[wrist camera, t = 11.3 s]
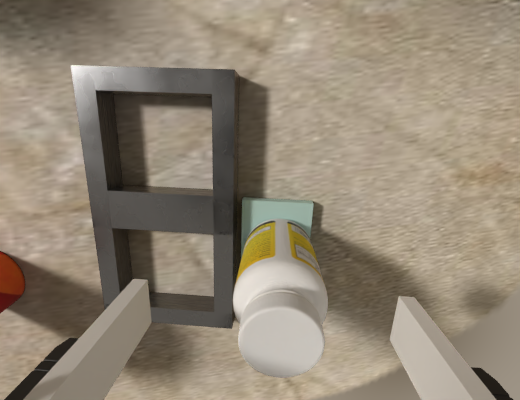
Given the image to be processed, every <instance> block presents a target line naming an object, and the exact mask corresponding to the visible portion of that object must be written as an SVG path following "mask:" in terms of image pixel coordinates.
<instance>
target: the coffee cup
mask: <svg viewBox="0 0 520 400" xmlns="http://www.w3.org/2000/svg"><path fill="white" fill-rule="evenodd" d="M24 289H25V279H24V276H23V273H22V271H21V269H20V268H19V266H18V265H17V264H16V262H15V261H14V260H13V259H12V258H10V257H9V256H8V255H6V254H4V253H3V252H1V251H0V313H1V312H3V311H4V310H5V309H6V308H8V307H9V306H10V305H12V304H13V303H14V302H15V301H17V300H18V299H19V298H20V297H21V295H22V294H23V292H24Z"/></svg>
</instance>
